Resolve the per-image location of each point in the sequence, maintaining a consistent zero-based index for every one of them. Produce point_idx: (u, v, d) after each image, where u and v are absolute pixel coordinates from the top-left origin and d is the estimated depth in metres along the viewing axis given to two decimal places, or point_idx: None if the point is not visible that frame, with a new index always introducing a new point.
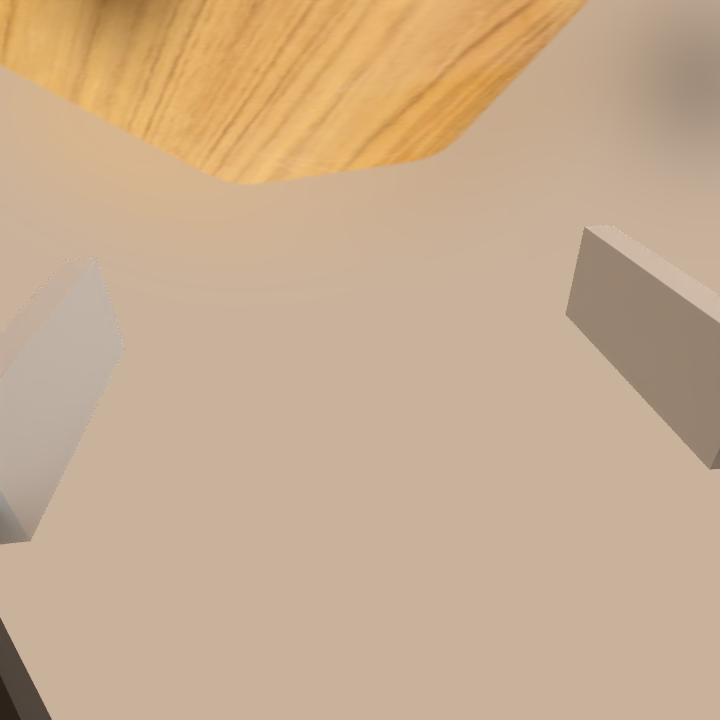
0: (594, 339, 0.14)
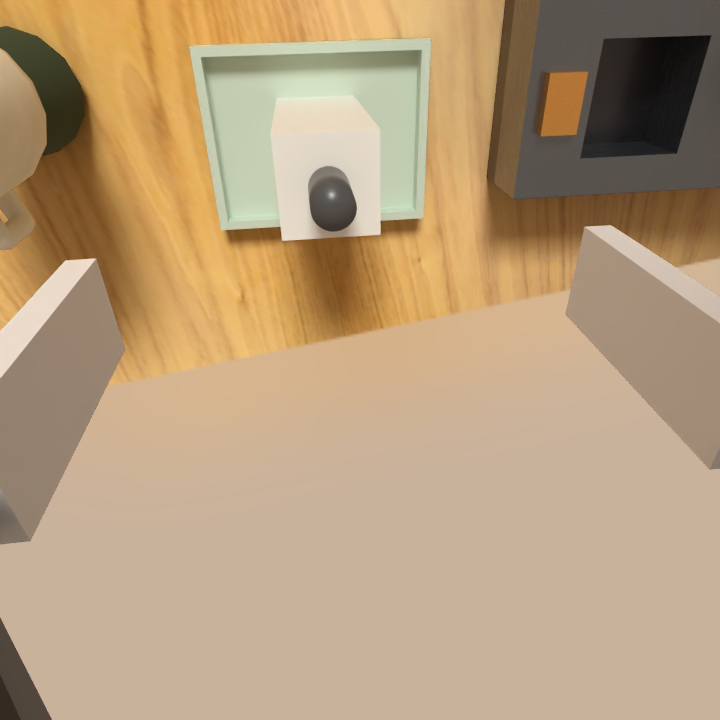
0: (594, 339, 0.14)
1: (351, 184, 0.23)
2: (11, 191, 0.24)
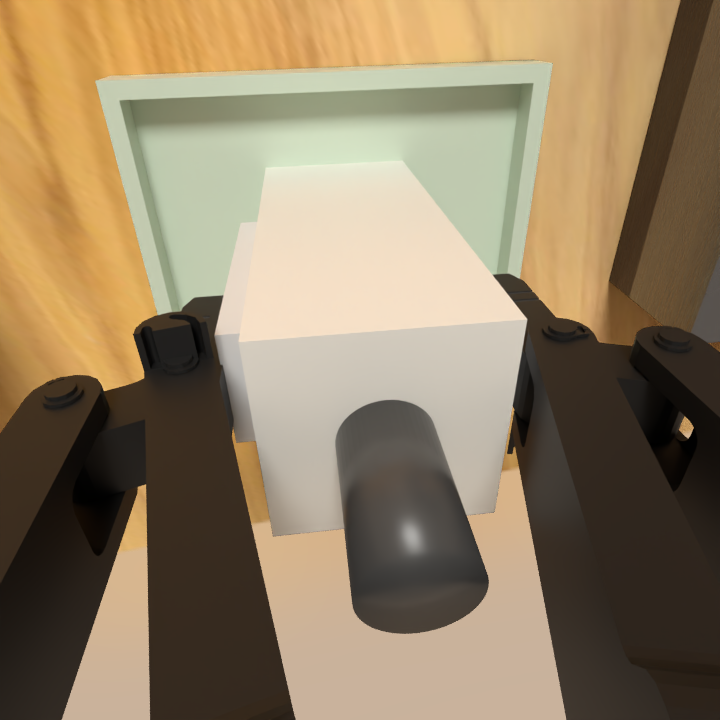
0: None
1: (440, 431, 0.09)
2: None
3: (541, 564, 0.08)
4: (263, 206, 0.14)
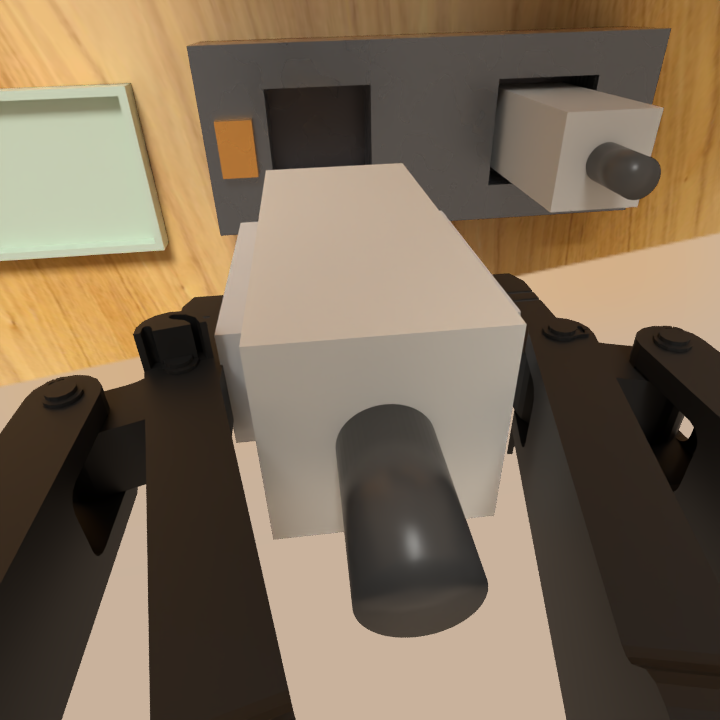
0: None
1: (440, 435, 0.09)
2: None
3: (541, 564, 0.08)
4: (263, 209, 0.14)
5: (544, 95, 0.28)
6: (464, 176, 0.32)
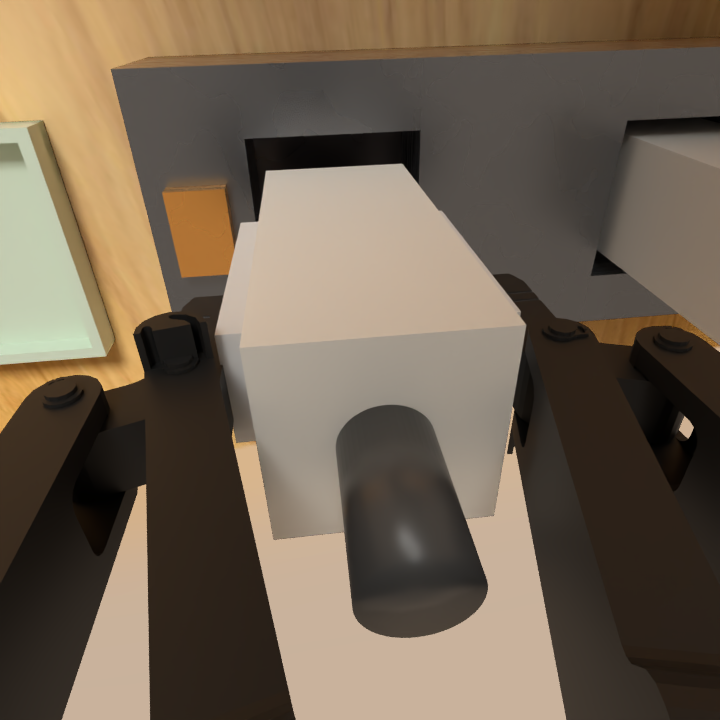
0: None
1: (440, 435, 0.09)
2: None
3: (540, 564, 0.08)
4: (263, 210, 0.14)
5: (712, 151, 0.17)
6: (556, 264, 0.21)
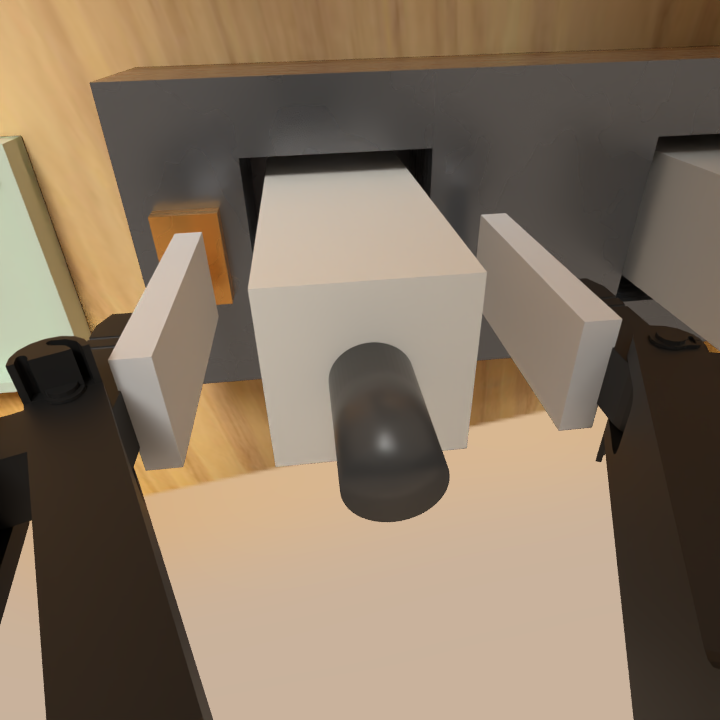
0: (490, 319, 0.15)
1: (417, 371, 0.11)
2: None
3: (621, 570, 0.08)
4: (266, 188, 0.15)
5: None
6: None
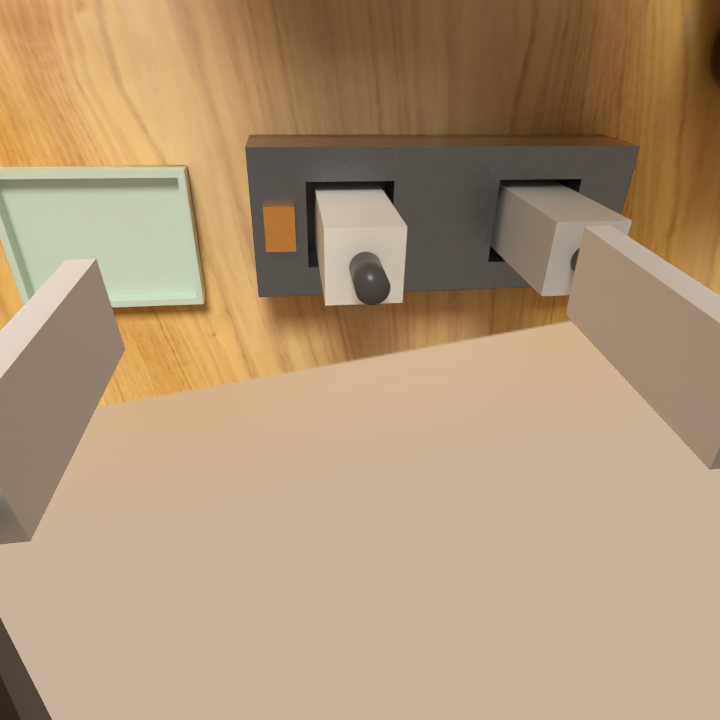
0: (594, 339, 0.14)
1: (382, 265, 0.29)
2: None
3: None
4: (318, 195, 0.34)
5: (537, 197, 0.34)
6: (468, 254, 0.38)
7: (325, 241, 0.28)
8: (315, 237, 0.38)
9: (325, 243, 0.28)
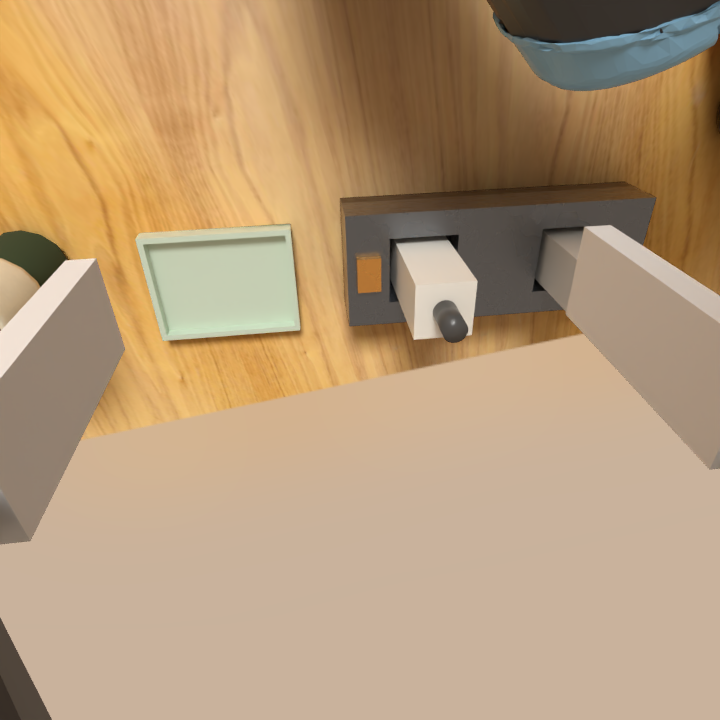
0: (594, 339, 0.14)
1: (457, 309, 0.39)
2: None
3: None
4: (400, 249, 0.43)
5: (573, 244, 0.43)
6: (516, 286, 0.47)
7: (416, 294, 0.38)
8: (392, 276, 0.48)
9: (416, 295, 0.38)
